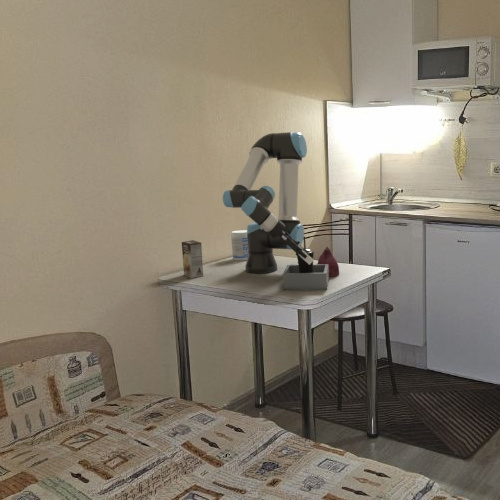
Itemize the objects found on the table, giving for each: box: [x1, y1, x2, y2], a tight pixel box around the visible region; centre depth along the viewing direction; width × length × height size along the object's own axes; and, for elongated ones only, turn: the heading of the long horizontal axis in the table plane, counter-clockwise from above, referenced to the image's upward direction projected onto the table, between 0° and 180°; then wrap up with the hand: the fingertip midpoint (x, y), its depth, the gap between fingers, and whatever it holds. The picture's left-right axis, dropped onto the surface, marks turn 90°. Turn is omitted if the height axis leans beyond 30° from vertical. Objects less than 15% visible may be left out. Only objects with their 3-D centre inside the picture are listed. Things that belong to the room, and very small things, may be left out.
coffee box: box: [181, 239, 204, 279], centre depth 326 cm, size 9×6×16 cm
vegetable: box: [316, 246, 340, 278], centre depth 311 cm, size 10×10×15 cm
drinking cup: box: [296, 235, 315, 273], centre depth 294 cm, size 8×8×20 cm
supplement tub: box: [231, 229, 248, 262], centre depth 359 cm, size 10×10×15 cm
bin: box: [282, 263, 330, 291], centre depth 296 cm, size 18×18×7 cm
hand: (309, 259), depth 295 cm, fingers open, 13 cm apart
